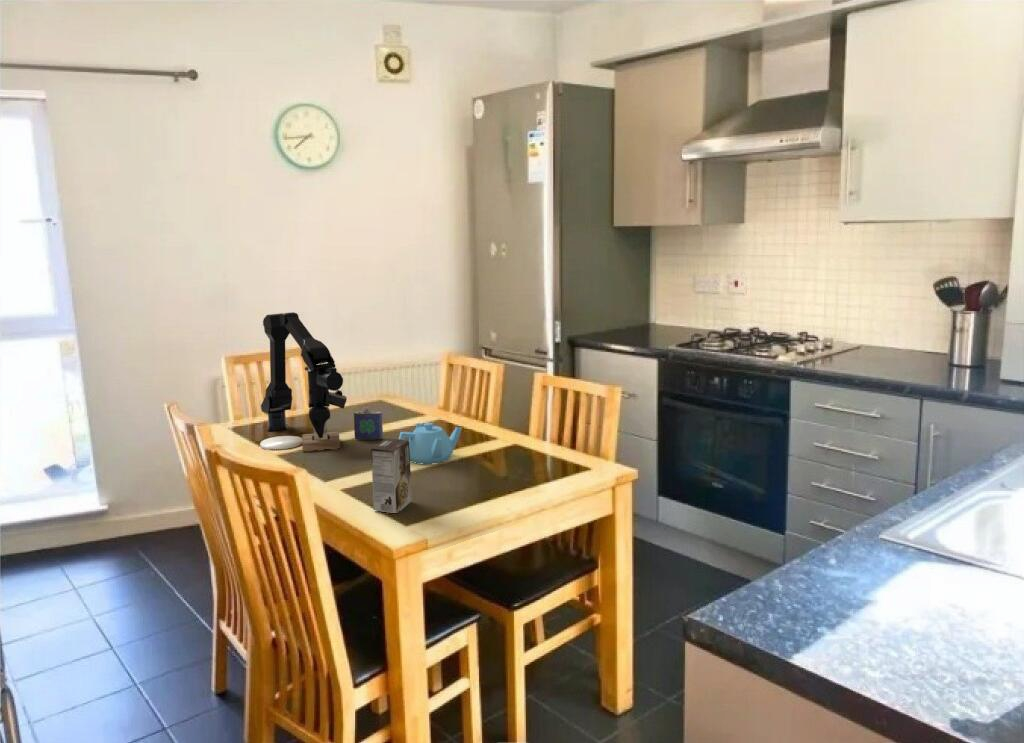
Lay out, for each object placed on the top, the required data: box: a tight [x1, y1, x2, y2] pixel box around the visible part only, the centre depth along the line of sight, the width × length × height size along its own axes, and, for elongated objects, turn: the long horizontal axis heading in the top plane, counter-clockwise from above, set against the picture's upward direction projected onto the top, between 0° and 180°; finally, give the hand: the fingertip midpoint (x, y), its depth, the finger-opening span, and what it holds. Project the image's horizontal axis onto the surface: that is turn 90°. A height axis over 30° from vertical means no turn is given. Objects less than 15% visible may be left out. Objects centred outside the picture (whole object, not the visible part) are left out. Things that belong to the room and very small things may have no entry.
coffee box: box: [370, 437, 413, 513], centre depth 188 cm, size 9×6×16 cm
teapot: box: [398, 422, 463, 465], centre depth 227 cm, size 15×15×11 cm
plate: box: [259, 435, 302, 451], centre depth 244 cm, size 13×13×1 cm
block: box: [313, 420, 328, 440], centre depth 241 cm, size 4×4×9 cm
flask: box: [353, 406, 384, 441], centre depth 248 cm, size 9×3×11 cm, turn 88°
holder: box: [301, 431, 341, 452], centre depth 242 cm, size 11×11×2 cm
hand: (320, 434), depth 242 cm, fingers open, 8 cm apart
